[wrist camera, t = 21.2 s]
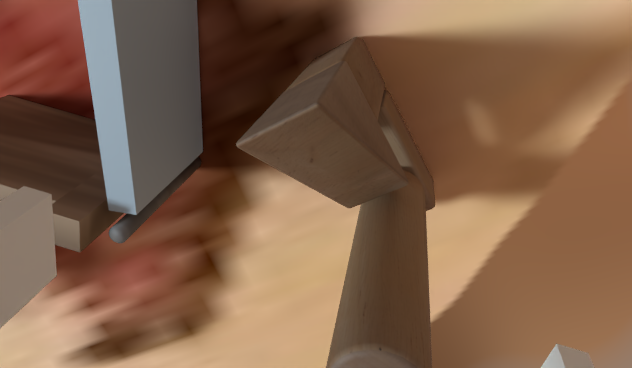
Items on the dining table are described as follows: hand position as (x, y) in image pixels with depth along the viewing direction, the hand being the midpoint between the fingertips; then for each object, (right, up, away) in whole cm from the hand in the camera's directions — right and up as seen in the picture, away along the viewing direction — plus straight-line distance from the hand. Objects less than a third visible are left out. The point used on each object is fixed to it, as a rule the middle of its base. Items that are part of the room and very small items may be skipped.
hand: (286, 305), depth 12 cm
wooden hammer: (+5, +7, +18) cm, 20 cm away
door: (-8, +11, +18) cm, 23 cm away
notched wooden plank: (-15, +7, +22) cm, 27 cm away
